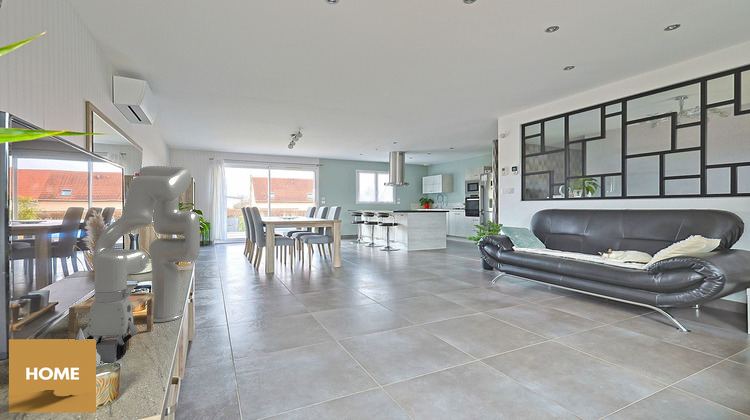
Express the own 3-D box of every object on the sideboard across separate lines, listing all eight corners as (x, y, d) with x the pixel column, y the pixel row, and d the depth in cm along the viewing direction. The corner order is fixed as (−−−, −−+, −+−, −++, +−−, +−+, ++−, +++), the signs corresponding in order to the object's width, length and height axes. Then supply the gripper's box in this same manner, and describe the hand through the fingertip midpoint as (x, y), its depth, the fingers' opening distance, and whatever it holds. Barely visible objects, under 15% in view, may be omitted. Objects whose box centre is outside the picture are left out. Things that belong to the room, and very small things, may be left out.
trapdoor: (104, 298, 118) (104, 295, 118) (145, 297, 121) (145, 295, 121) (82, 308, 107) (82, 305, 107) (127, 307, 109) (127, 304, 109)
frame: (101, 331, 120) (101, 293, 120) (153, 329, 123) (153, 292, 123) (68, 352, 104) (68, 308, 104) (129, 349, 107) (129, 306, 107)
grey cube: (105, 355, 103) (105, 338, 103) (124, 354, 104) (124, 337, 104) (95, 362, 98) (95, 345, 98) (114, 361, 99) (115, 344, 99)
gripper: (149, 292, 106) (148, 350, 106) (86, 293, 103) (85, 353, 103) (136, 298, 98) (135, 361, 99) (68, 300, 95) (68, 365, 96)
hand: (110, 356), depth 101 cm, fingers closed on grey cube, 5 cm apart
